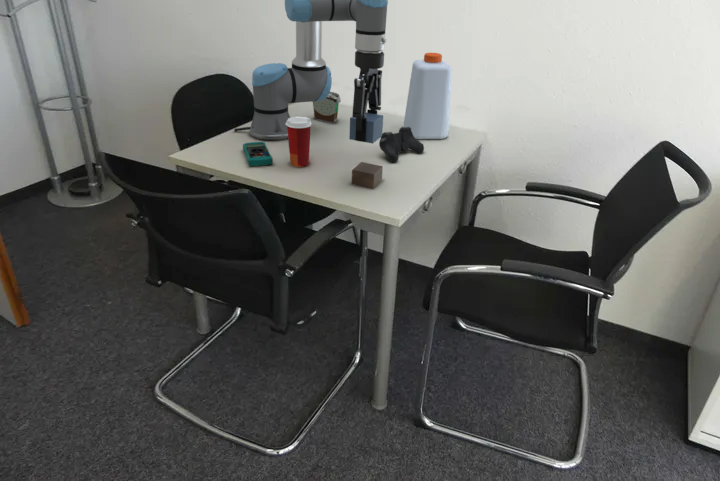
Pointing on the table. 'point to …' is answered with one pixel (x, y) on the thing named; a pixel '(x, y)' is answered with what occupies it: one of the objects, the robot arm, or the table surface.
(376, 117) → the slate block
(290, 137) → the paper cup
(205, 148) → the table surface
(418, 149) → the game controller
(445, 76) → the plastic bottle
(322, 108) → the food container
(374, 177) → the walnut block
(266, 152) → the digital multimeter
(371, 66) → the robot arm
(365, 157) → the table surface
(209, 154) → the table surface
